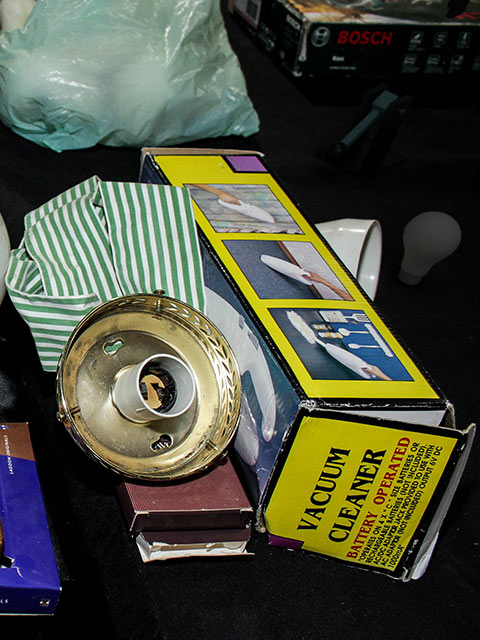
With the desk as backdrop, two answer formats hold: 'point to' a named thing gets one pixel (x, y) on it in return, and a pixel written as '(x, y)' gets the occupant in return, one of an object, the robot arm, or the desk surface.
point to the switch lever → (359, 128)
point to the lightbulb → (427, 244)
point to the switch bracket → (375, 155)
